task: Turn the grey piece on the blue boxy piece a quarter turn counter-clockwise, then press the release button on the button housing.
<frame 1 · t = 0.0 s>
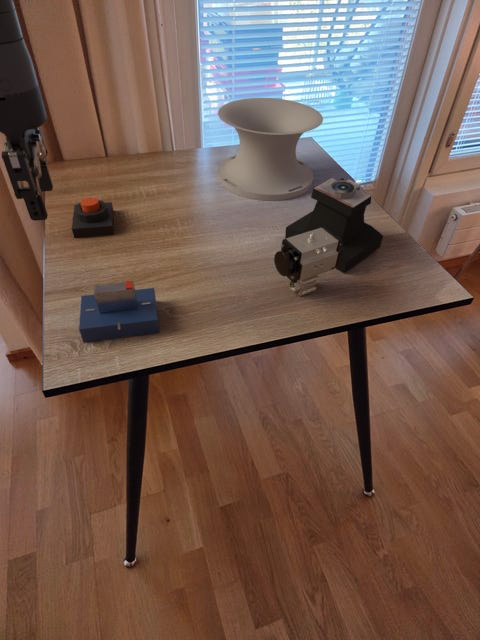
hand: (43, 204, 62), 18 cm above the table, tool pointing down, fingers open, 8 cm apart
blue boxy piece: (121, 320, 70), on the table
grey piece: (116, 296, 66), point 5 cm above the table, hinge at 0.0°
pneumatic valve: (303, 291, 77), on the table
vase: (265, 177, 110), on the table
release button: (90, 205, 87), point 4 cm above the table, slide at 0.1 cm
button housing: (94, 223, 91), on the table
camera: (335, 243, 89), on the table
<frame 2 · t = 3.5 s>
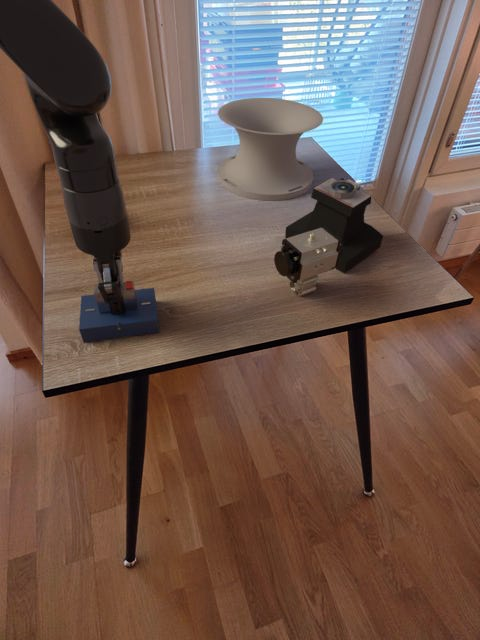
hand: (118, 307, 68), 3 cm above the table, tool pointing down, fingers closed on grey piece, 2 cm apart
grey piece: (116, 296, 66), point 5 cm above the table, hinge at 0.1°, touching gripper
everything else where it was.
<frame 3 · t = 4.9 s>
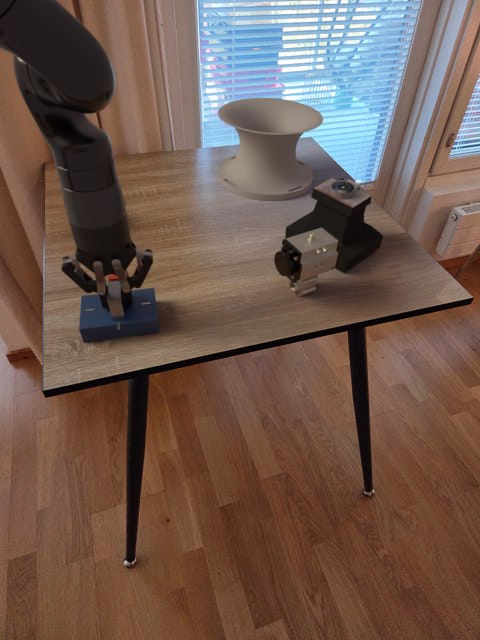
hand: (118, 306, 68), 3 cm above the table, tool pointing down, fingers closed, pressing on blue boxy piece, grey piece
grey piece: (116, 296, 66), point 5 cm above the table, hinge at 89.3°, touching gripper
everything else where it was.
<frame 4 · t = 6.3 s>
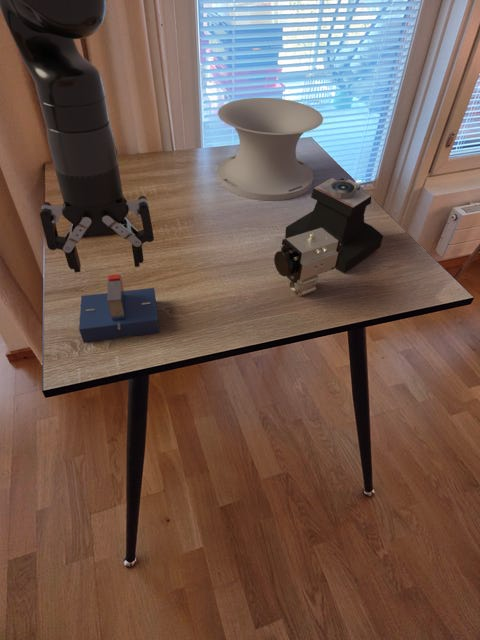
hand: (108, 266, 62), 11 cm above the table, tool pointing down, fingers open, 8 cm apart
grey piece: (116, 296, 66), point 5 cm above the table, hinge at 89.3°
everything else where it was.
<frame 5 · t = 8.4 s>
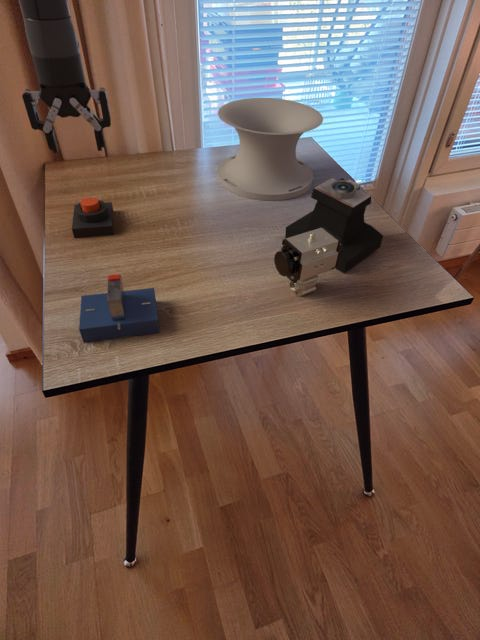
hand: (78, 150, 79), 16 cm above the table, tool pointing down, fingers open, 7 cm apart
nothing on the table moved.
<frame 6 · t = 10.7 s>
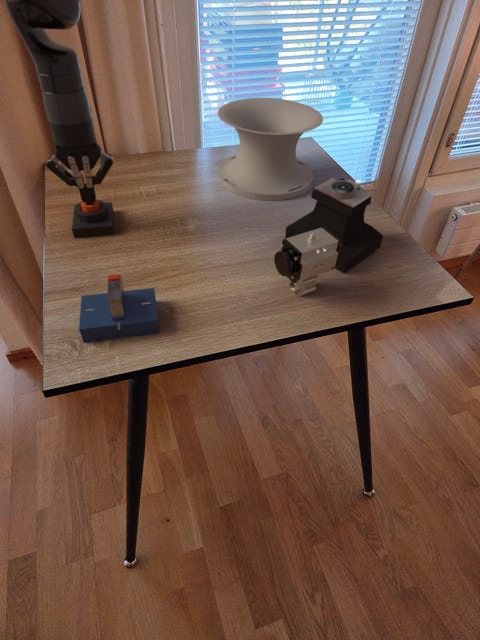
hand: (90, 202, 87), 5 cm above the table, tool pointing down, fingers closed
release button: (90, 206, 88), point 4 cm above the table, slide at -0.2 cm, touching gripper
everything else where it was.
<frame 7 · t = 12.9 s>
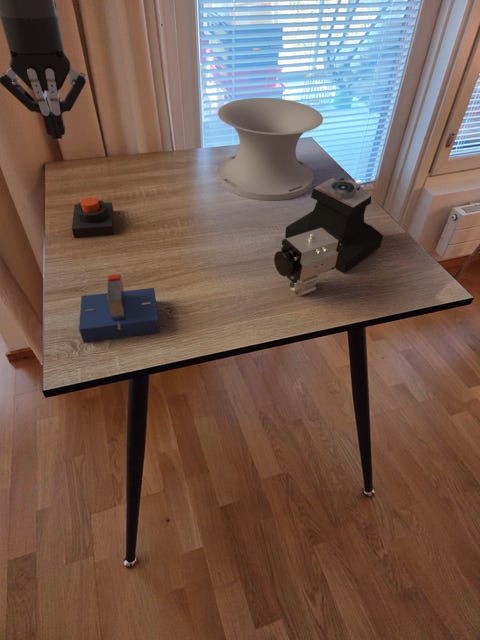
hand: (58, 137, 71), 21 cm above the table, tool pointing down, fingers closed
release button: (90, 205, 87), point 4 cm above the table, slide at 0.1 cm
everything else where it was.
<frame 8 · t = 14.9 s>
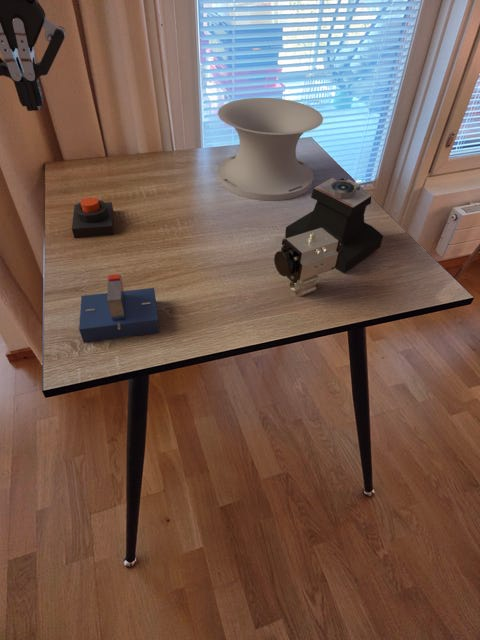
hand: (34, 108, 58), 29 cm above the table, tool pointing down, fingers closed
nothing on the table moved.
at the end: grey piece at +89° (first picture: +0°); release button pushed in 1.0 cm at the most during the clip, back to where it started at the end; release button slide at 0.1 cm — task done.
